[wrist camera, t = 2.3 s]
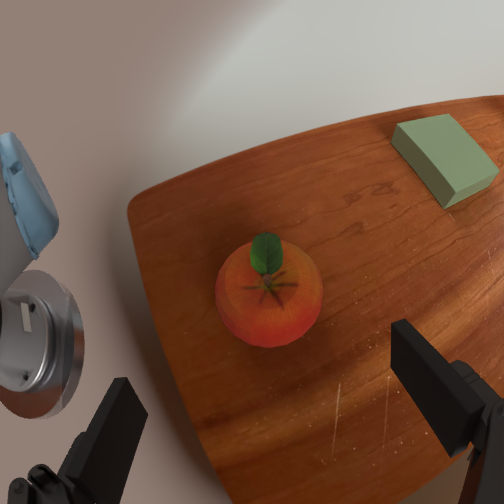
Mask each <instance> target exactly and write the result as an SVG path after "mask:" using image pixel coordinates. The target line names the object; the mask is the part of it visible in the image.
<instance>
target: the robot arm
mask: <svg viewBox="0 0 504 504" xmlns="http://www.w3.org/2000/svg"><path fill="white" fill-rule="evenodd" d="M58 227H59V218H58V214H57V211H56V208H55V206H54V203H53V201H52V199H51V197H50V195H49V193H48V191H47V189H46V186H45V185H44V183H43V181H42V179H41V177H40V175H39V173H38V171H37V169H36V167H35V166H34V164H33V162H32V160H31V158H30V157H29V155H28V153H27V152H26V150H25V148H24V146H23V145H22V143H21V142H20V141H19V140H18V138H17V137H16V135H15V134H14V133H13V132H8V133H6V134H2V135H1V136H0V385H2V386H3V387H5V388H7V389H9V390H11V391H15V392H23V393H25V392H30V391H33V390H34V389H36V388H37V387H38V386H39V385H40V384H41V383H42V381H43V380H44V378H45V377H46V374H47V372H48V370H49V367H50V364H51V360H52V355H53V346H54V334H53V325H52V321H51V317H50V314H49V311H48V309H47V307H46V305H45V304H44V302H43V301H42V300H41V299H40V298H39V297H37V296H36V295H34V294H32V293H30V292H28V291H26V290H22V289H11V288H9V287H10V286H11V285H12V283H13V282H14V281H15V280H16V279H17V278H18V276H19V275H20V274H21V273H22V272H23V271H24V269H25V268H26V267H27V266H28V265H29V264H30V263H31V262H32V261H33V260H37V259H38V258H39V254H40V252H41V251H42V250H43V249H44V248H45V247H46V246H47V245H48V243H49V242H50V241H51V240H52V239H53V238H54V237H55V235H56V233H57V231H58ZM390 367H391V369H392V370H393V371H394V373H395V374H396V376H397V377H398V379H399V380H400V382H401V383H402V384H403V386H404V387H405V389H406V390H407V392H408V393H409V395H410V396H411V398H412V399H413V401H414V402H415V404H416V405H417V407H418V408H419V410H420V411H421V413H422V414H423V416H424V417H425V419H426V420H427V422H428V423H429V425H430V426H431V428H432V430H433V431H434V433H435V434H436V436H437V437H438V439H439V440H440V442H441V444H442V445H443V447H444V448H445V450H446V452H447V453H448V455H449V456H450V458H452V457H454V456H455V455H457V454H459V453H461V452H462V451H464V450H466V448H467V446H468V444H469V442H470V441H471V442H472V444H473V445H474V448H473V450H472V451H471V453H470V455H469V457H468V459H467V460H470V464H469V467H468V472H467V475H466V479H465V483H464V486H463V490H462V492H461V496H460V499H459V502H458V504H504V398H501V397H500V396H499V395H498V394H497V393H496V392H495V391H494V390H493V389H492V388H491V387H490V386H489V385H488V384H487V383H486V382H485V381H484V380H483V379H482V378H480V376H479V375H478V374H477V373H475V371H474V370H473V369H472V368H471V367H470V366H469V365H468V364H467V363H464V362H462V361H460V360H456V361H454V362H452V363H450V364H449V363H448V362H447V361H446V360H445V359H444V358H443V356H442V355H441V354H440V353H439V352H438V351H437V350H436V349H435V348H434V347H433V346H432V345H431V344H430V343H429V342H428V341H427V340H426V339H425V338H424V337H423V336H422V335H421V334H420V333H419V332H418V331H417V330H416V329H415V328H414V327H413V326H412V325H411V324H410V323H409V322H408V321H407V320H406V319H402V320H399V321H396V322H393V323H391V365H390ZM147 417H148V413H147V412H146V410H145V408H144V407H143V405H142V403H141V402H140V400H139V398H138V396H137V395H136V393H135V391H134V389H133V388H132V386H131V384H130V382H129V380H128V378H127V377H122V378H114V380H113V382H112V384H111V386H110V387H109V389H108V391H107V393H106V395H105V396H104V398H103V400H102V402H101V404H100V405H99V407H98V409H97V411H96V413H95V415H94V417H93V419H92V420H91V422H90V424H89V427H88V428H87V431H86V432H81V433H80V434H79V435H78V436H77V437H76V438H75V440H74V442H73V444H72V446H71V448H70V450H69V452H68V454H67V455H66V458H65V460H64V461H63V464H62V465H61V467H60V469H59V471H58V473H57V475H56V474H55V473H54V472H53V471H52V470H51V469H50V468H49V467H48V466H46V465H44V464H39V465H36V466H34V467H33V468H32V469H31V470H30V471H29V473H28V478H27V479H28V480H29V481H30V482H31V483H32V484H33V485H31V484H30V483H29V482H28V481H27V480H25V479H24V478H16V479H14V480H13V481H12V482H11V484H10V486H9V492H8V503H7V504H95V503H96V504H119V503H120V500H121V497H122V494H123V490H124V487H125V483H126V481H127V477H128V474H129V471H130V468H131V465H132V462H133V459H134V456H135V452H136V449H137V446H138V443H139V440H140V437H141V434H142V431H143V428H144V426H145V422H146V419H147ZM470 458H471V459H470Z"/></svg>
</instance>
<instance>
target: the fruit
mask: <svg viewBox="0 0 504 504" xmlns="http://www.w3.org/2000/svg"><path fill="white" fill-rule="evenodd" d="M215 298H216V306H217V310H218V312H219V314H220V316H221V319H222V321H223V323H224V324H225V325H226V327H227V328H228V329H229V330H230V331H231V332H232V333H233V334H234V335H235V336H236V337H238V338H239V339H241V340H243V341H245V342H246V343H248V344H250V345H255V346H260V347H266V348H271V347H277V346H283V345H287V344H289V343H291V342H293V341H294V340H296V339H298V338H300V337H302V336H303V335H304V334H305V333H306V332H307V331H308V330H309V328H310V327H311V326H312V325H313V324H314V323H315V321H316V318H317V316H318V314H319V312H320V310H321V306H322V298H323V284H322V280H321V275H320V272H319V270H318V268H317V267H316V265H315V263H314V262H313V260H312V258H310V257H309V256H308V255H307V254H306V253H305V252H303V251H302V250H301V249H300V248H299V247H298V246H296V245H293V244H291V243H289V242H287V241H284V240H280V238H279V237H278V236H277V234H273V233H270V232H265V233H262V234H258V235H257V236H256V237H255V238H254V239H253V241H251V242H249V243H247V244H245V245H243V246H240V247H239V248H238V249H237V250H236V251H235V252H233V253H232V254H231V255H230V256H229V257H228V258H227V259H226V261H225V263H224V264H223V266H222V267H221V269H220V271H219V272H218V276H217V280H216V284H215Z"/></svg>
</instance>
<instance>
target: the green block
mask: <svg viewBox="0 0 504 504" xmlns="http://www.w3.org/2000/svg"><path fill="white" fill-rule="evenodd" d="M391 144H392V145H393V146H394V147H395V149H396V150H397V151H398V152H399V153H400V154H401V155H402V157H403V158H404V159H405V160H406V161H407V162H408V164H409V165H410V166H411V167H412V168H413V170H414V171H415V172H416V173H417V175H418V176H419V177H420V178H421V180H422V181H423V182H424V184H425V185H426V186H427V187H428V189H429V190H430V191H431V193H432V194H433V195H434V197H435V198H436V200H437V201H438V202H439V204H440V205H441V206H442V208H443V209H446V208H448V207H450V206H451V205H453V204H455V203H457V202H459V201H461V200H463V199H465V198H467V197H469V196H471V195H473V194H475V193H477V192H479V191H480V190H482V189H484V188H486V187H488V186H489V185H490V184H491V182H492V181H493V180H494V178H495V177H496V176H497V174H498V173H499V172H500V170H499V169H498V168H497V167H496V165H495V164H494V163H493V162H492V160H491V159H490V158H489V157H488V156H487V154H486V153H485V152H484V151H483V150H482V149H481V147H480V146H479V145H478V144H477V143H476V142H475V141H474V140H473V138H472V137H471V136H470V135H469V134H468V133H467V132H466V131H465V130H464V129H463V128H462V127H461V126H460V125H459V124H458V123H457V122H456V121H455V120H454V119H453V118H452V117H451V116H450V115H449V114H443V115H438V116H432V117H427V118H422V119H417V120H412V121H407V122H403V123H398V124H397V125H396V128H395V131H394V134H393V137H392V140H391Z"/></svg>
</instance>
